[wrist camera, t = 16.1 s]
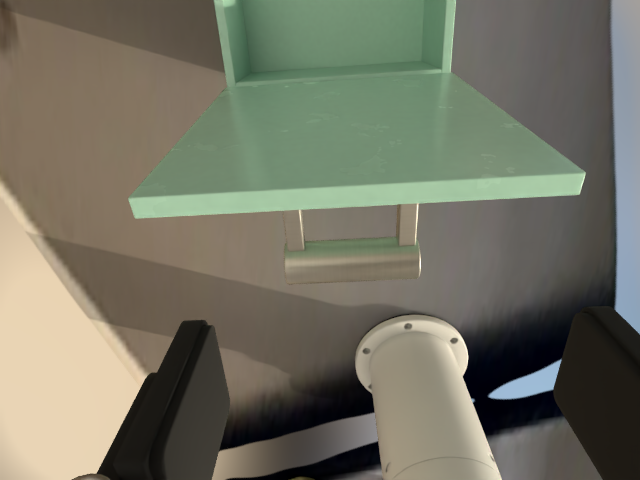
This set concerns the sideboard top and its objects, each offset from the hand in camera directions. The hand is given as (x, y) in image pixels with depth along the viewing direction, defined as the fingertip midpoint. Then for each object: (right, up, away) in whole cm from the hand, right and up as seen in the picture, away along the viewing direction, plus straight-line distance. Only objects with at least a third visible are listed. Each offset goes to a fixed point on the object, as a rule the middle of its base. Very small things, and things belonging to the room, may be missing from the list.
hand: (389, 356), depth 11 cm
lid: (-1, +9, +9) cm, 13 cm away
